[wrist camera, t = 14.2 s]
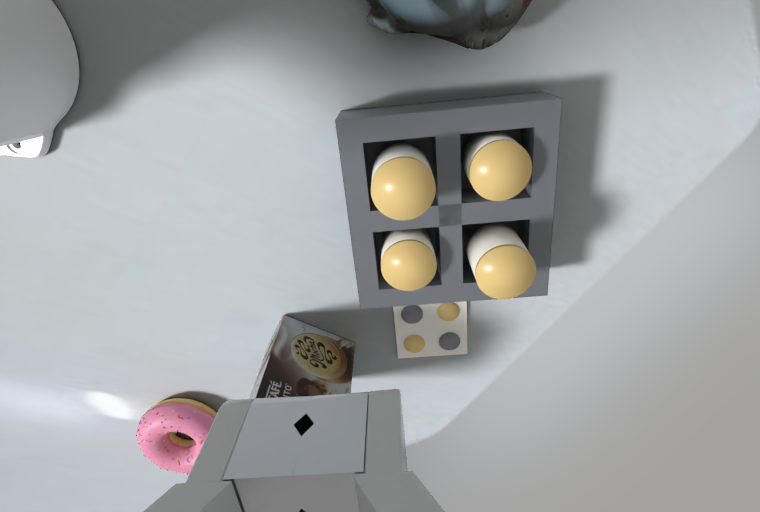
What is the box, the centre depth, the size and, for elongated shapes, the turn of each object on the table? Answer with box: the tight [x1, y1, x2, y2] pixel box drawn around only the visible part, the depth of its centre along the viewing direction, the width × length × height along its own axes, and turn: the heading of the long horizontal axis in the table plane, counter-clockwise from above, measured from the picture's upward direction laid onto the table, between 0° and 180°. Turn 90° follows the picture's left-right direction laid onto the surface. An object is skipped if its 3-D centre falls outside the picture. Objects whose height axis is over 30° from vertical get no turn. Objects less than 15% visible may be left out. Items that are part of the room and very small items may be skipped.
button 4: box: [466, 223, 536, 299], centre depth 41 cm, size 5×5×5 cm
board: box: [335, 91, 562, 309], centre depth 43 cm, size 18×18×5 cm
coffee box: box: [249, 315, 355, 399], centre depth 46 cm, size 9×6×16 cm
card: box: [393, 301, 467, 359], centre depth 51 cm, size 8×8×1 cm
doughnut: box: [136, 398, 217, 475], centre depth 57 cm, size 11×11×4 cm
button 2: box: [381, 228, 437, 291], centre depth 43 cm, size 5×5×5 cm
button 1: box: [371, 143, 436, 221], centre depth 37 cm, size 5×5×5 cm
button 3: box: [461, 130, 532, 201], centre depth 39 cm, size 5×5×5 cm
